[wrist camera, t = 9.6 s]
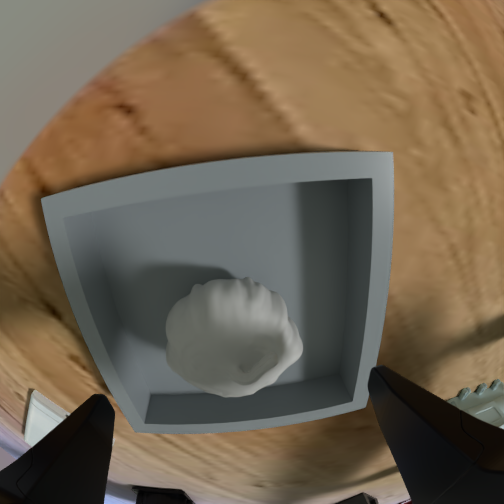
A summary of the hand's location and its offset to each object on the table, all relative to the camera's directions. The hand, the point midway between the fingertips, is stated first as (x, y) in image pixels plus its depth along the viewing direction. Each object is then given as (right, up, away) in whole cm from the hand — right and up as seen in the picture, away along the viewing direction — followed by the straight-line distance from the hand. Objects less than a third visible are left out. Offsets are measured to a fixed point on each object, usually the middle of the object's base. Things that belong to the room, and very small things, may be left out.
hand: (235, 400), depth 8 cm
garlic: (-1, +2, +6) cm, 6 cm away
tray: (-1, +2, +6) cm, 7 cm away
